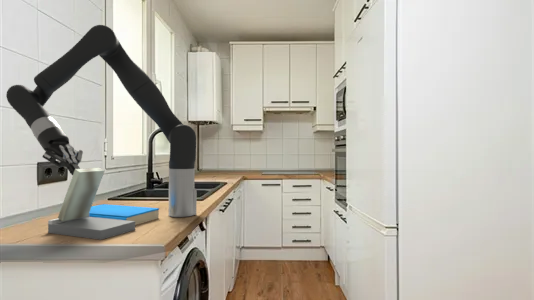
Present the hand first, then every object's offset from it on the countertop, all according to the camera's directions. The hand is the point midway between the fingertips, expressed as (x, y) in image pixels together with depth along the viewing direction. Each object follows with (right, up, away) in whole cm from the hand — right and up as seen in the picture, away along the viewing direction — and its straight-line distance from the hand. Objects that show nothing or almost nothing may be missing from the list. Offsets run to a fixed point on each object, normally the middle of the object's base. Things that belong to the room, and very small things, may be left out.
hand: (78, 174), depth 107 cm
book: (+4, -17, +15) cm, 23 cm away
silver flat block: (+2, -6, -1) cm, 6 cm away
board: (+5, -16, -2) cm, 18 cm away
